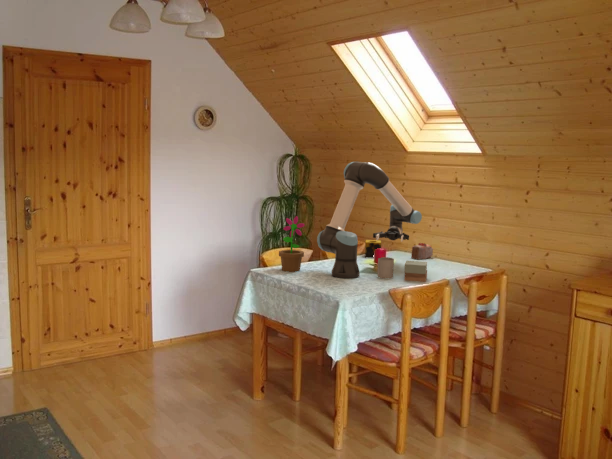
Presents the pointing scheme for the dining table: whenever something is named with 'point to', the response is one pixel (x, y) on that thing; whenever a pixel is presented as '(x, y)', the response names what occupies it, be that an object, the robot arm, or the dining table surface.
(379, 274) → the cup
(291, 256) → the flowerpot
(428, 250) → the food item
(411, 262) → the tower top block
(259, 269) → the dining table surface
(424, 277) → the tower bottom block
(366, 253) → the yellow black cube
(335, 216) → the robot arm
